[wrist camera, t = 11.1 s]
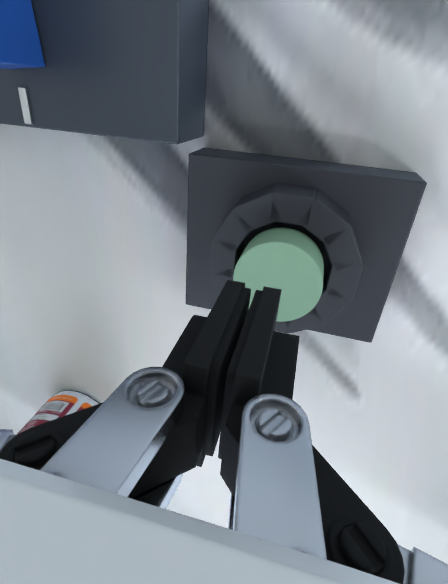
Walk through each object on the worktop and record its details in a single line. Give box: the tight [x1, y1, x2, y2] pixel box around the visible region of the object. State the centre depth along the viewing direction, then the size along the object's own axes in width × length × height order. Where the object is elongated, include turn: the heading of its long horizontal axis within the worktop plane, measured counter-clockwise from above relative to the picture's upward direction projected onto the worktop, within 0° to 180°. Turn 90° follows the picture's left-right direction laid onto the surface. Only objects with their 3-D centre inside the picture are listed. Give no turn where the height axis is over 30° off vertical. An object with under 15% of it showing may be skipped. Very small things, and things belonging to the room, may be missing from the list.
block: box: [186, 148, 427, 342], centre depth 17 cm, size 10×8×4 cm
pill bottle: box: [17, 391, 98, 435], centre depth 26 cm, size 6×6×11 cm
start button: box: [233, 228, 324, 322], centre depth 15 cm, size 4×4×2 cm
